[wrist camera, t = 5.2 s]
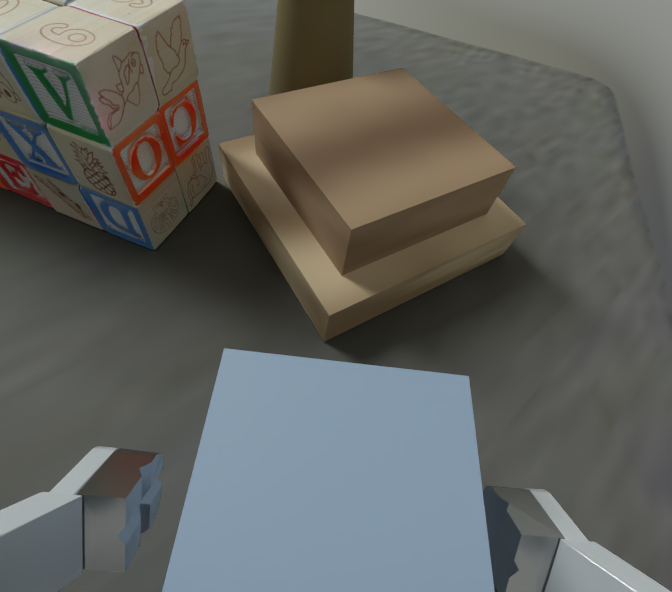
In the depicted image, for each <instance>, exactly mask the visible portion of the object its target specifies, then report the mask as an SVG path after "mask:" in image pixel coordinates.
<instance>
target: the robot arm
mask: <svg viewBox="0 0 672 592" xmlns="http://www.w3.org/2000/svg"><path fill="white" fill-rule="evenodd" d="M162 469H163V456H162V455H161V454H160V453H154V452H146V451H138V450H130V449H121V448H120V449H118V448H111V447H102V446H98V447H95V448H93V449H92V450H91V451H90V452H89V453H88V454H87V455H86V456H85V457H84V458H83V459H82V460H81V461H80V462H79V463H78V464H77V465H76V466H75V467H74V468H73V469H72V470H71V471H70V472H69V473H68V474H67V475H66V476H65V477H64V478H63V479H62V480H61V481H60V482H59V483H58V484H57V485H56V486H55V487H54V488H53V489H52V490H51V491H50V492H41V493H38V494H36V495H34V496H32V497H29V498H27V499H25V500H23V501H20V502H18V503H16V504H14V505H11V506H9V507H7V508H5V509H2V510H0V592H58V591H59V590H61V589H62V588H63V587H65V586H66V585H67V584H68V583H70V582H71V581H72V580H74V579H75V578H76V577H77V576H79V575H80V574H81V573H82V572H83V570H96V571H116V572H125V571H126V569H127V567H128V565H129V563H130V562H131V560H132V558H133V556H134V555H135V553H136V551H137V549H138V548H139V546H140V534H141V533H143V532H144V531H146V530H147V529H149V528H150V526H151V524H152V522H153V520H154V518H155V516H156V513H157V510H158V507H159V504H160V499H161V492H162V484H161V483H160V481H159V480H158V478H157V477H158V475H159V474H160V472H161V470H162ZM483 499H484V506H485V516H486V524H487V532H488V541H489V549H490V557H491V566H492V574H493V582H494V585H495V587H496V589H497V591H498V592H671V591H669V590H668V589H666V588H665V587H663V586H662V585H660V584H659V583H657V582H656V581H654V580H652V579H651V578H649V577H648V576H646V575H645V574H643V573H642V572H640V571H639V570H637V569H636V568H634V567H633V566H631V565H629V564H628V563H626V562H625V561H623V560H622V559H620V558H619V557H617V556H616V555H614V554H613V553H611V552H610V551H608V550H606V549H605V548H603V547H602V546H600V545H599V544H597V543H596V542H589V541H588V540H587V539H586V537H585V536H584V535H583V534H582V532H581V531H580V530H579V529H578V527H577V526H576V525H575V524H574V522H573V521H572V520H571V519H570V517H569V516H568V515H567V514H566V513H565V511H564V510H563V509H562V508H561V506H560V505H559V504H558V503H557V501H556V500H555V499H554V498H553V496H552V495H551V494H550V493H549V492H547V491H546V490H543V489H528V488H525V489H519V488H508V487H497V486H486V487H485V489H484V490H483Z"/></svg>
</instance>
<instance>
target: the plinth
mask: <svg viewBox="0 0 672 592" xmlns="http://www.w3.org/2000/svg"><path fill="white" fill-rule="evenodd" d="M252 111H253V124H254V135H251V136H247V137H243V138H239V139H235V140H231V141H227V142H223V143H219V150H220V156H221V162H222V167H223V173H224V179H225V181H226V183H227V185H228V186H229V188H230V189H231V191H232V193H233V194H234V196H235V198H236V199H237V201H238V202H239V204H240V206H241V207H242V209H243V211H244V212H245V214H246V215H247V217H248V219H249V220H250V222H251V224H252V225H253V227H254V228H255V230H256V232H257V233H258V235H259V237H260V238H261V240H262V242H263V243H264V245H265V246H266V248H267V250H268V251H269V253H270V255H271V256H272V258H273V259H274V261H275V263H276V264H277V266H278V268H279V269H280V271H281V272H282V274H283V276H284V277H285V279H286V281H287V282H288V284H289V285H290V287H291V289H292V290H293V292H294V294H295V295H296V297H297V298H298V300H299V302H300V303H301V305H302V307H303V308H304V310H305V311H306V313H307V315H308V316H309V318H310V320H311V321H312V323H313V324H314V326H315V328H316V329H317V331H318V333H319V334H320V336H321V337H322V339H323V341H324V342H325V341H327V340H329V339H331V338H333V337H335V336H337V335H339V334H341V333H343V332H345V331H347V330H349V329H351V328H353V327H356V326H358V325H360V324H362V323H364V322H366V321H368V320H370V319H372V318H374V317H376V316H378V315H380V314H382V313H384V312H386V311H388V310H390V309H392V308H394V307H396V306H398V305H400V304H403V303H405V302H407V301H409V300H411V299H413V298H415V297H417V296H419V295H421V294H423V293H425V292H427V291H429V290H431V289H433V288H435V287H437V286H439V285H441V284H443V283H445V282H447V281H450V280H452V279H454V278H456V277H458V276H460V275H462V274H464V273H466V272H468V271H470V270H472V269H474V268H476V267H478V266H480V265H482V264H484V263H486V262H488V261H490V260H492V259H494V258H496V257H499V256H501V255H503V254H504V253H505V251H506V250H507V249H508V248H509V246H510V245H511V244H512V242H513V241H514V240H515V238H516V237H517V236H518V235H519V233H520V232H521V231H522V229H523V228H524V227H525V225H526V223H525V222H524V221H523V220H521V219H520V218H519V217H518V216H517V215H516V214H515V213H514V212H513V211H512V210H511V209H510V208H509V207H508V206H507V205H506V204H505V203H504V202H502V201H501V200H500V199H499V198H498V195H499V193H500V192H501V190H502V189H503V187H504V185H505V184H506V182H507V181H508V179H509V177H510V176H511V174H512V173H513V171H514V169H515V168H516V167H515V166H514V165H513V164H511V163H510V162H509V161H508V160H507V159H506V158H505V157H503V156H502V155H501V154H500V153H499V152H498V151H497V150H495V149H494V148H493V147H492V146H491V145H490V144H489V143H488V142H486V141H485V140H484V139H483V138H482V137H481V136H480V135H478V134H477V133H476V132H475V131H474V130H473V129H472V128H470V127H469V126H468V125H467V124H466V123H465V122H464V121H462V120H461V119H460V118H459V117H458V116H457V115H456V114H454V113H453V112H452V111H451V110H450V109H449V108H448V107H446V106H445V105H444V104H443V103H442V102H441V101H440V100H438V99H437V98H436V97H435V96H434V95H433V94H432V93H430V92H429V91H428V90H427V89H426V88H425V87H424V86H422V85H421V84H420V83H419V82H418V81H417V80H416V79H414V78H413V77H412V76H411V75H410V74H409V73H408V72H407V71H405V70H404V69H403V68H399V69H394V70H389V71H384V72H380V73H375V74H370V75H366V76H361V77H356V78H351V79H347V80H342V81H337V82H332V83H328V84H323V85H318V86H314V87H309V88H304V89H299V90H295V91H290V92H285V93H281V94H276V95H271V96H266V97H262V98H257V99H252Z"/></svg>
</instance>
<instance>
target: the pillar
mask: <svg viewBox="0 0 672 592" xmlns="http://www.w3.org/2000/svg"><path fill="white" fill-rule="evenodd" d="M162 592H495V591H494V582H493V574H492V566H491V557H490V549H489V541H488V532H487V524H486V516H485V508H484V499H483V491H482V483H481V474H480V466H479V458H478V450H477V441H476V433H475V425H474V416H473V408H472V400H471V391H470V383H469V376H463V375H454V374H445V373H437V372H428V371H419V370H410V369H401V368H393V367H384V366H375V365H366V364H357V363H349V362H340V361H331V360H322V359H313V358H305V357H296V356H287V355H278V354H269V353H261V352H252V351H243V350H234V349H225V348H224V351H223V355H222V359H221V363H220V367H219V371H218V375H217V378H216V382H215V386H214V390H213V394H212V398H211V402H210V406H209V410H208V414H207V418H206V422H205V425H204V429H203V433H202V437H201V441H200V445H199V449H198V453H197V457H196V461H195V465H194V469H193V472H192V476H191V480H190V484H189V488H188V492H187V496H186V500H185V504H184V508H183V512H182V516H181V519H180V523H179V527H178V531H177V535H176V539H175V543H174V547H173V551H172V555H171V559H170V563H169V566H168V570H167V574H166V578H165V582H164V586H163V590H162Z"/></svg>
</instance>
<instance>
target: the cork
mask: <svg viewBox="0 0 672 592" xmlns="http://www.w3.org/2000/svg"><path fill="white" fill-rule="evenodd" d="M353 35H354V0H278V5H277V16H276V26H275V36H274V47H273V57H272V68H271V78H270V88H269V96H271V95H276V94H281V93H285V92H290V91H295V90H299V89H304V88H309V87H314V86H318V85H323V84H328V83H332V82H337V81H342V80H347V79H351V78H353Z"/></svg>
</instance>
